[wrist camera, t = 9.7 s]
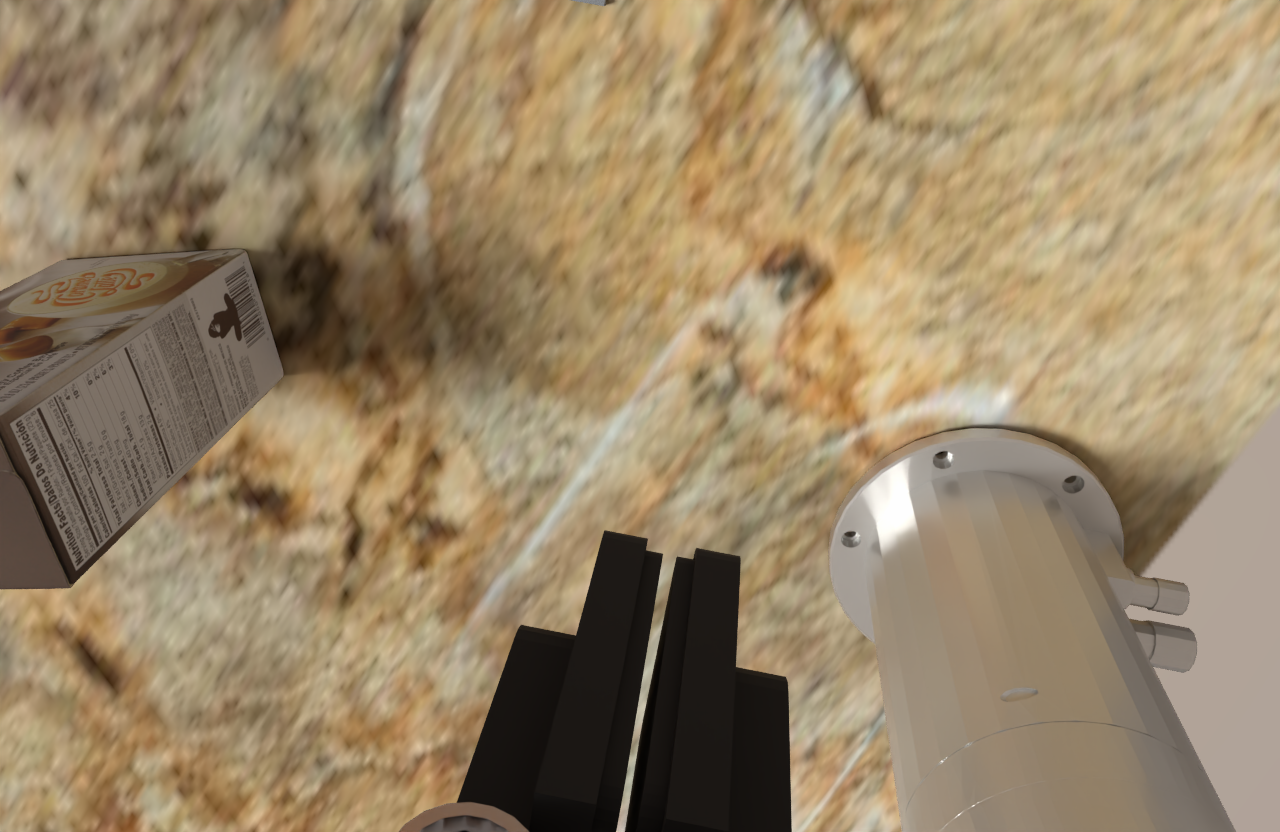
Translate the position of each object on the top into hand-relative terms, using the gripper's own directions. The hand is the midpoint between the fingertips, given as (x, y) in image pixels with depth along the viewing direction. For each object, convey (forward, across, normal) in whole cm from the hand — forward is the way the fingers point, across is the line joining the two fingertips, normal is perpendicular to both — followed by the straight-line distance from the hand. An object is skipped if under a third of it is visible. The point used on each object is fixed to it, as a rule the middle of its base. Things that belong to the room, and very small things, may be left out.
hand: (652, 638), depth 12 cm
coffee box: (+29, +23, +12) cm, 39 cm away
